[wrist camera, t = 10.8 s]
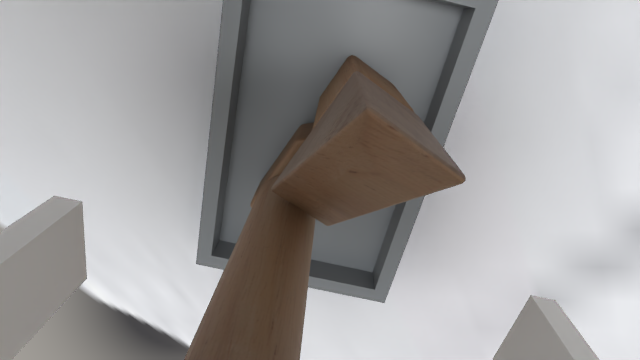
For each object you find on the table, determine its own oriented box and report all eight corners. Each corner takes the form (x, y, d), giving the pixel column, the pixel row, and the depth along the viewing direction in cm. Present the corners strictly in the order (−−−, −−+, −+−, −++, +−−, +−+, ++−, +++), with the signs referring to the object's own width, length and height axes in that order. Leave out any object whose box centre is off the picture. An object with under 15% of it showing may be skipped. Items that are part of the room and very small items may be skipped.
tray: (244, -65, 21) (230, -77, 18) (481, -6, 22) (501, -9, 19) (209, 240, 30) (196, 263, 27) (380, 276, 30) (384, 302, 28)
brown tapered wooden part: (397, 87, 23) (540, 265, 7) (301, 210, 27) (243, 514, 11) (349, 51, 22) (379, 152, 6) (258, 182, 26) (123, 464, 10)
